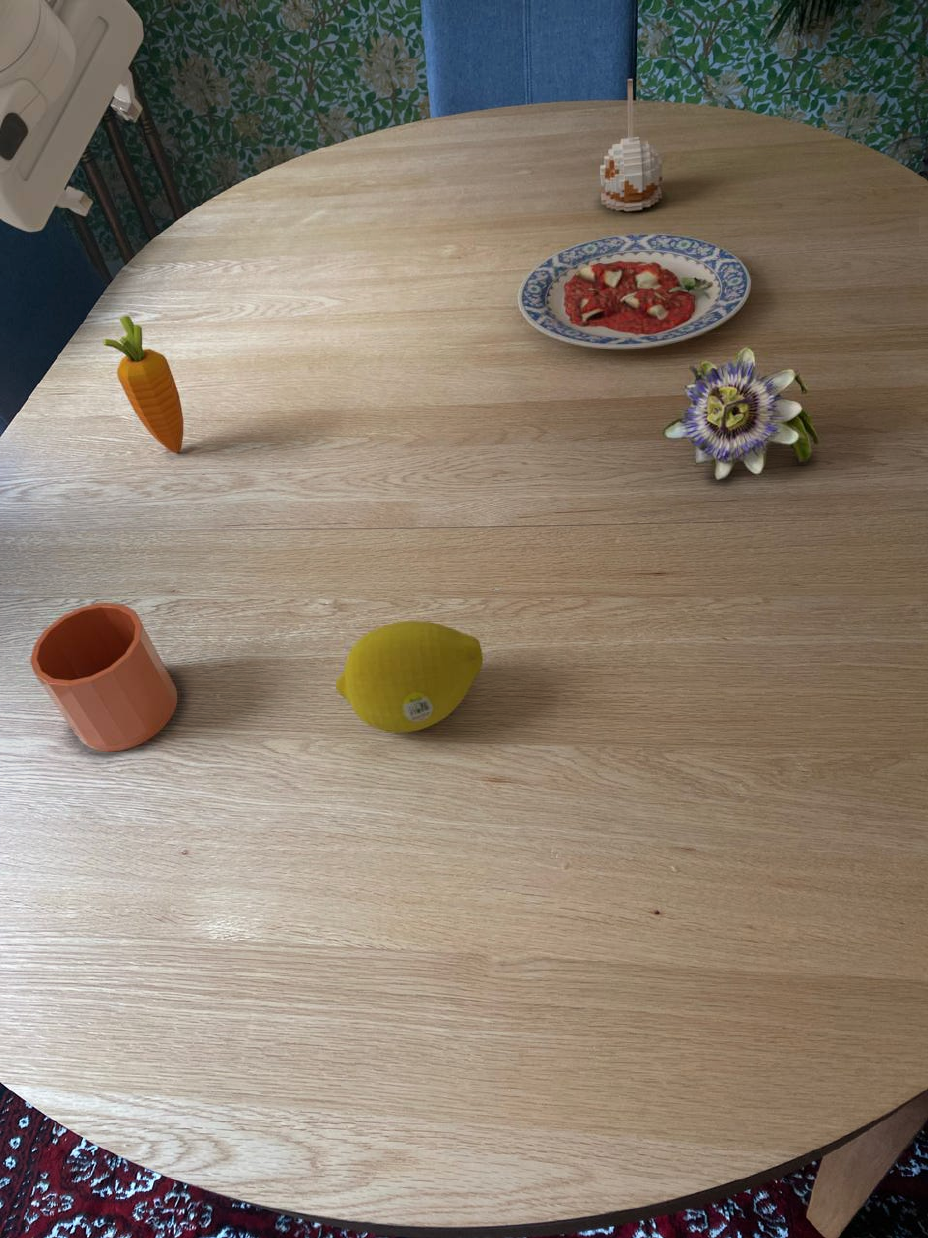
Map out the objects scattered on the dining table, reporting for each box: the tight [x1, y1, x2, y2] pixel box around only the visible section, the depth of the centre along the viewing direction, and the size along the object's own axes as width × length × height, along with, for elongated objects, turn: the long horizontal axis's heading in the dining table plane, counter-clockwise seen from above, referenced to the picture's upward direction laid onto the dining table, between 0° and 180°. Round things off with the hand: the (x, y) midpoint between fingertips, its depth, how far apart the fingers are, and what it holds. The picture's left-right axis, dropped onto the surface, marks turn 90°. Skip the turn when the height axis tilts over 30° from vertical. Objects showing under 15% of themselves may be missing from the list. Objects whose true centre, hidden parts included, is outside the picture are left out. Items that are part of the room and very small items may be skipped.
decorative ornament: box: [599, 78, 663, 212], centre depth 125 cm, size 8×8×15 cm
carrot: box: [102, 315, 184, 454], centre depth 97 cm, size 5×5×15 cm
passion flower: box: [662, 345, 820, 481], centre depth 88 cm, size 11×11×12 cm
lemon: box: [335, 620, 484, 734], centre depth 71 cm, size 11×8×8 cm
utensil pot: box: [30, 602, 178, 753], centre depth 75 cm, size 8×8×8 cm
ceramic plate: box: [517, 233, 752, 350], centre depth 111 cm, size 26×26×3 cm
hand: (108, 160), depth 87 cm, fingers open, 8 cm apart
